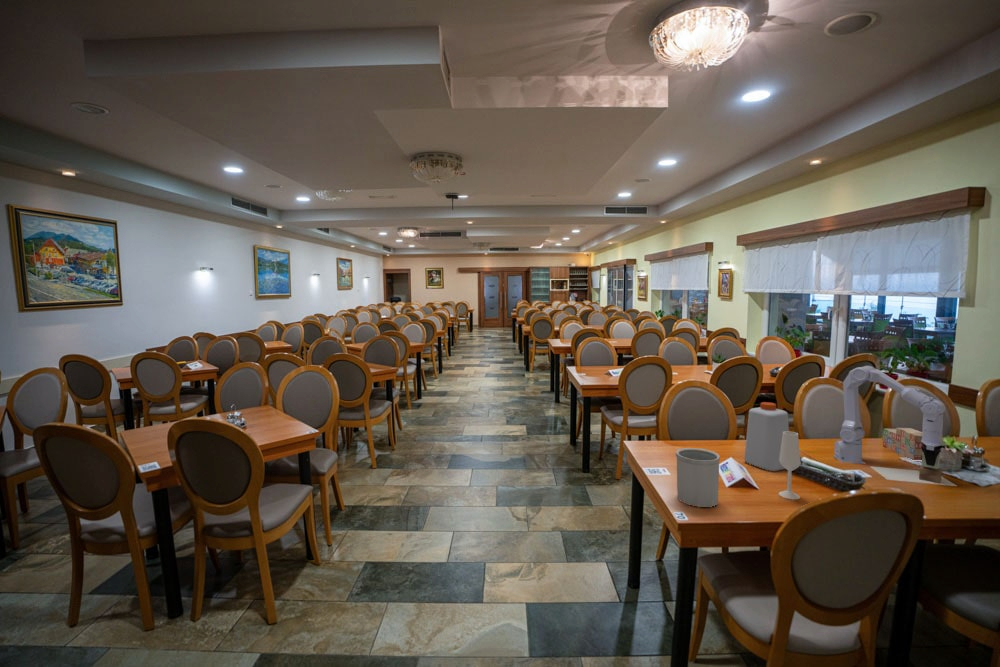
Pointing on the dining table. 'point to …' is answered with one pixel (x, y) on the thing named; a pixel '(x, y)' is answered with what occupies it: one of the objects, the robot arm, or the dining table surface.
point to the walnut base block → (930, 474)
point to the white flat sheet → (906, 475)
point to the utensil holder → (697, 476)
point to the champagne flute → (789, 459)
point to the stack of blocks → (904, 442)
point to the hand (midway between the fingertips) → (930, 463)
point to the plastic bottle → (765, 436)
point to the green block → (929, 465)
